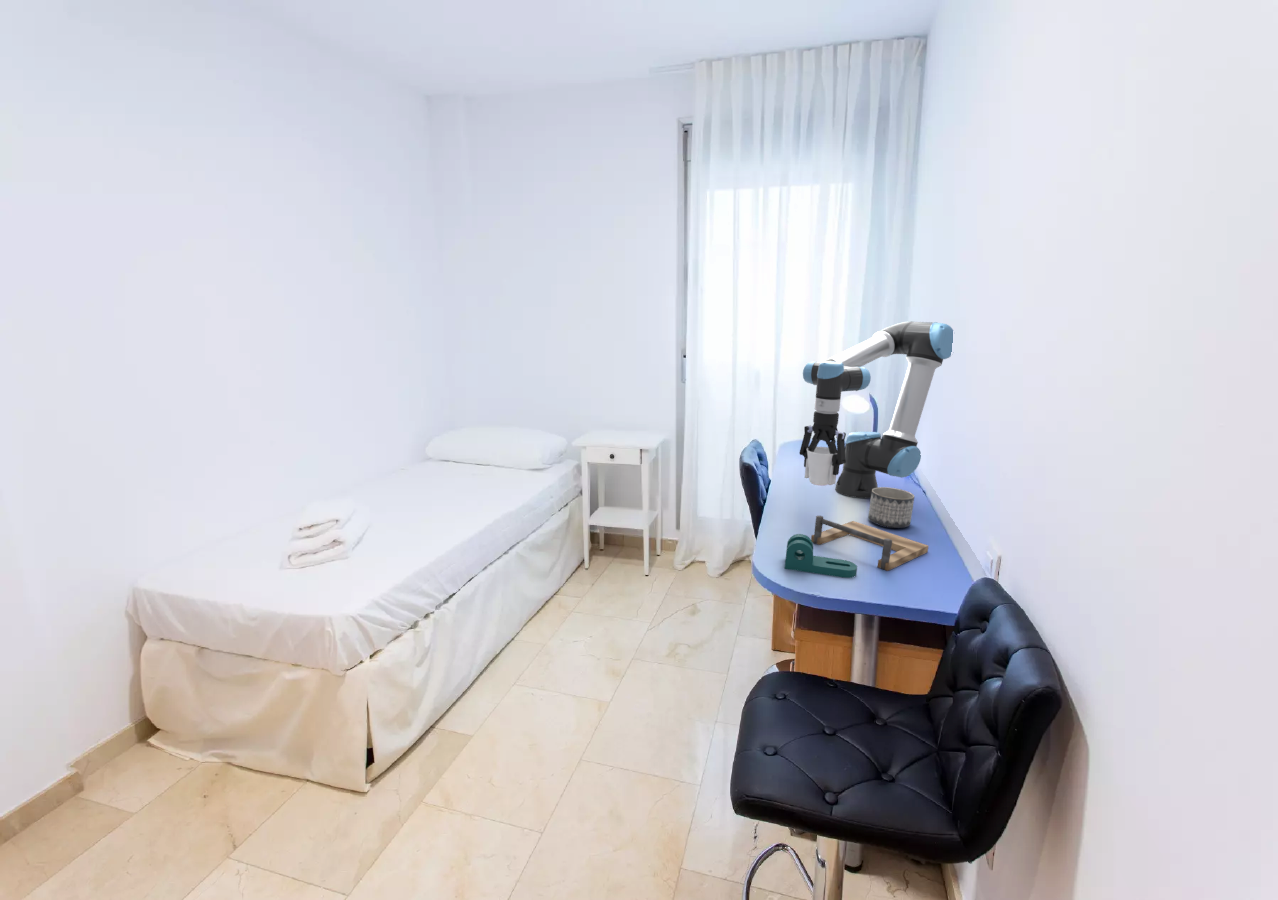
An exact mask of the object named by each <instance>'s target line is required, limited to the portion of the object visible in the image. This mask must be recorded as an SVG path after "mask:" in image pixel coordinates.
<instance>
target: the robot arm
mask: <svg viewBox="0 0 1278 900" xmlns="http://www.w3.org/2000/svg"><path fill="white" fill-rule="evenodd" d="M953 331H954V329H953V328H952V327H951V325H949V324H947V323H941V322H936V321H935V322H930V321H929V322H927V321H925V322H924V321H903V322H900V323H899V322H898V323H896V324H893V325H890V326H887V327H885V328H883V329H880V330H878V331H877V332H875V333H873V335H872V337H870V338H868V339H867V340H864V341H862V342H860V343H858V344H856V345H854V346H852V347H850V348H847V349H846V350H844V351H841V352H839V353H836V354H835V355H833V356H831V357H829V358H827V359H824V360H823V361H819V362H818V361H809V362H808V363H807V362H806V364H805V366H804V367H803V370H802V378H803V380H804V382H806V383H807V384H810V385H813V386H816V390H815V398H814V399H815V400H814V410H815V411H814V412H813V419H812V422H813V425H811V424H810V425H805V426H804V433H803V438H802V441H801V445H800V449H799V455H800V456H803V457H804V459H803V460H804V461H803V467H804V469H805V470H804V478H805V479H808V478H809V467H808V455H807V450H806V449H807V448H809V449H808V450H809V451H811V452H814V450H815V448H816V447H818V445H819V442H820V441H823V442H825V443H826V445H827V447H828V448H829V452H830V454H834V455H833V456H832V462H833V464H832V465H830V474H829V484H828V485H829V486H833V485H835V491H836V493H839V494H840V495H844V496H847V497H851V498H859V499H871V493H872V489H873V488H877V487H879V486H878V482H877V476H876V474H877V473H876V472H879V473H882V474H885V475H889V476H891V477H896V478H897V477H898V478H902V479H903V478H907V477H909V476H910V475H912V474H913V473H914V472H915V471H916V470H917V468H918V467H919V465H920V463H921V459H922V458H921V457H922V455H921V450H920V448H918V443H919V442H918V440H917V439H916V433H917V430H918V426H919V424H920V420H921V417H922V415H923V414H922V413H923V411H924V407H925V403H926V401H927V397H928V395H929V391H930V388H931V384H932V381H933V378H934V375H935V371H936V369H937V368H939V367H942V365H943V362H944V360H946V359H950V358H951V356H952V355H951V352H952V343H953ZM892 355H906V356H905V359H906V361H907V363H908V366H907V369H906V372H905V376H904V379H903V383H902V385H901V390H900V393H899V395H898V399H897V401H896V405H895V409H894V413H893V416H892V420H891V421H890V426H889V429H888V430H887V431H885V432H884V433H880V432H877V431H854V432H853V431H852V432H850V433H848V434H847V433H846V432H844V431H843V432H841V431H839V430H838V424H839V419H840V417H839V415H840V413H839V412H840V408H841V396H842V392H852V391H853V392H854V391H855V392H858V391H861V390H865V389H866V388H868V386H870V383H871V373H870V371H869V370H868V369H867V368H866V367H864V366H866V365H867V364H869V363H871V362H873V361H876V360H877V359H879V358H887V357H890V356H892ZM812 434H814V435H813V436H812ZM881 434H882V435H881ZM846 435H847V436H846ZM836 453H837V454H836ZM840 465H842V470H841V473H840ZM839 474H840V475H839ZM837 475H839V477H838V479H837ZM836 479H837V481H836ZM828 485H827V486H828Z"/></svg>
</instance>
